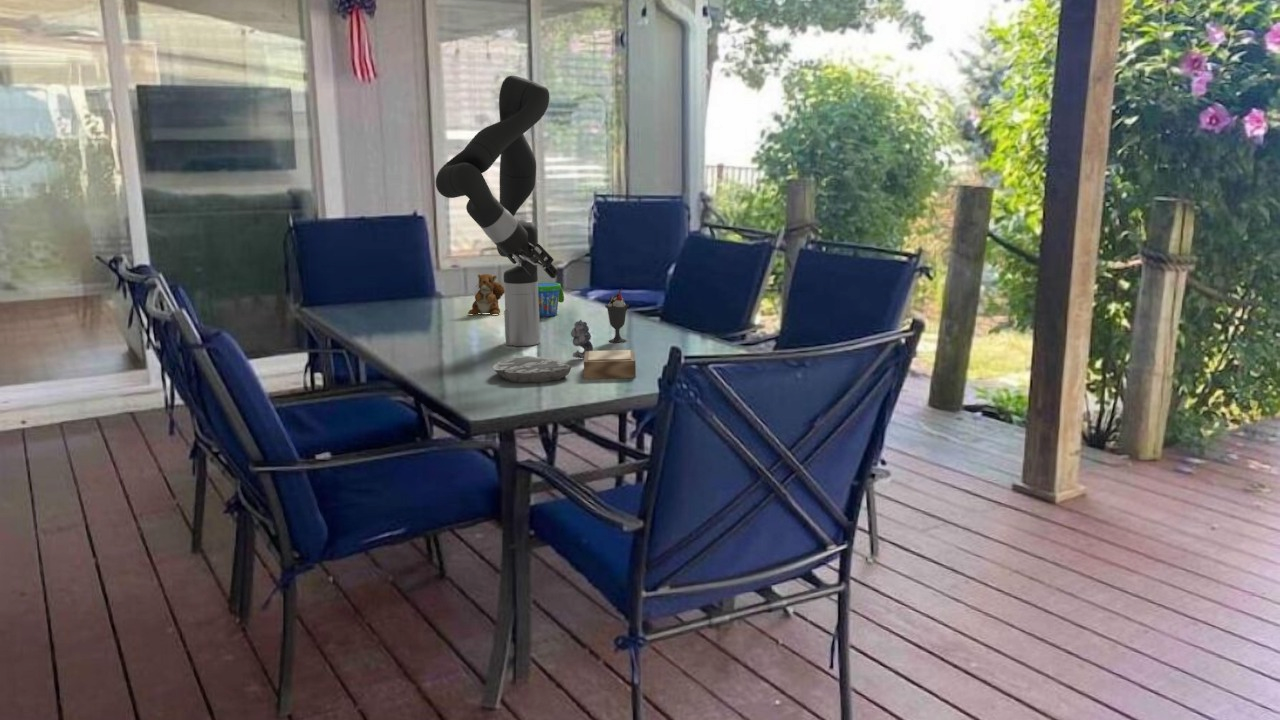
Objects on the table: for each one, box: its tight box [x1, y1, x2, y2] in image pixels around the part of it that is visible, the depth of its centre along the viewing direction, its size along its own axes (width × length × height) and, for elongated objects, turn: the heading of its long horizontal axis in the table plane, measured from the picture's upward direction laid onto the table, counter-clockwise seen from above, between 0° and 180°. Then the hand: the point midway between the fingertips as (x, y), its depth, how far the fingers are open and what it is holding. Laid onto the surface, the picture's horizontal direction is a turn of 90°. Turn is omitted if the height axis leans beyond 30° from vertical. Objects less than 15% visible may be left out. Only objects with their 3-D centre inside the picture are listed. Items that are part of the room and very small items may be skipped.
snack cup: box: [538, 281, 565, 318], centre depth 312 cm, size 16×10×10 cm
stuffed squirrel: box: [467, 273, 505, 315], centre depth 318 cm, size 10×14×13 cm
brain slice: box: [491, 355, 572, 384], centre depth 228 cm, size 20×17×3 cm
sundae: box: [604, 288, 630, 344], centre depth 267 cm, size 7×7×15 cm
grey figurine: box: [570, 319, 595, 359], centre depth 246 cm, size 5×5×10 cm
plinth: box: [583, 349, 637, 380], centre depth 231 cm, size 12×12×4 cm
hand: (544, 274), depth 235 cm, fingers open, 8 cm apart
